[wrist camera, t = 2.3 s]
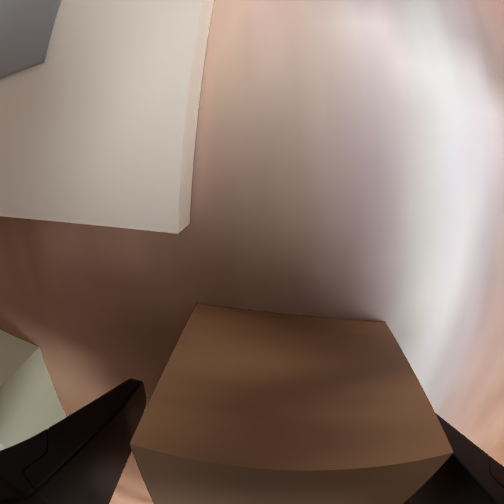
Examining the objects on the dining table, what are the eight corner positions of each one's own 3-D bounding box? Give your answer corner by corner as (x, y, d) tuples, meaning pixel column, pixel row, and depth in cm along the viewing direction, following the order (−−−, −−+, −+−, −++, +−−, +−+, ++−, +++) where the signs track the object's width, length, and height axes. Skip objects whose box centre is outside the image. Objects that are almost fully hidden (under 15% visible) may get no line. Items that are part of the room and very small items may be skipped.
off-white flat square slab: (251, -141, 3) (249, -157, 1) (189, 223, 8) (175, 235, 6) (-16, -45, 3) (-27, -49, 2) (-72, 205, 8) (-87, 210, 7)
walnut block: (384, 319, 8) (453, 452, 3) (337, 434, 10) (353, 542, 5) (197, 301, 8) (129, 443, 4) (198, 422, 10) (168, 532, 5)
